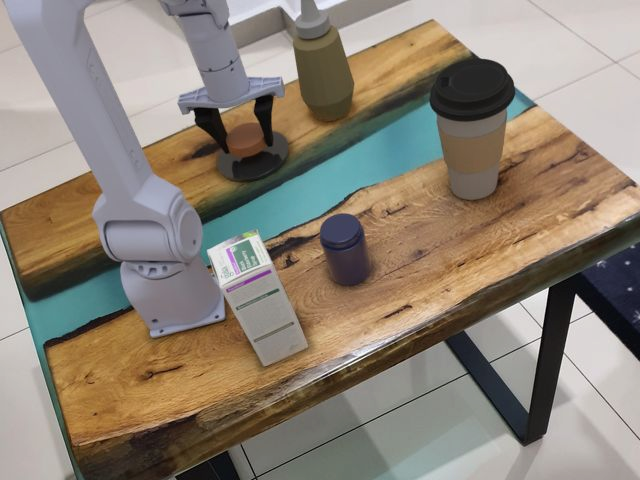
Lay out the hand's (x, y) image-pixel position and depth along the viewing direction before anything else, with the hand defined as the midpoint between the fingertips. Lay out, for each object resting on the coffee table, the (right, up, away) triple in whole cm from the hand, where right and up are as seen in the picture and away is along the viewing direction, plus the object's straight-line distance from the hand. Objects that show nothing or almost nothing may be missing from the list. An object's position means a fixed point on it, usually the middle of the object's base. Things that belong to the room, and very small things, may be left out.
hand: (249, 146), depth 94 cm
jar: (+14, -20, -15) cm, 29 cm away
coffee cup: (+30, -9, -11) cm, 33 cm away
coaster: (0, -1, +2) cm, 2 cm away
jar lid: (0, +1, -1) cm, 2 cm away
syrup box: (+6, -29, -19) cm, 35 cm away
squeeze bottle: (+12, +7, +5) cm, 15 cm away
